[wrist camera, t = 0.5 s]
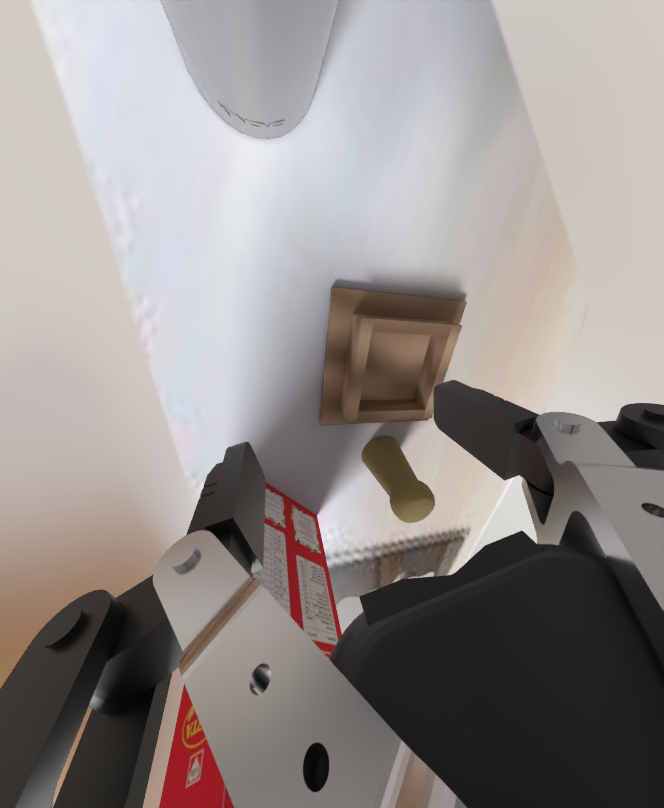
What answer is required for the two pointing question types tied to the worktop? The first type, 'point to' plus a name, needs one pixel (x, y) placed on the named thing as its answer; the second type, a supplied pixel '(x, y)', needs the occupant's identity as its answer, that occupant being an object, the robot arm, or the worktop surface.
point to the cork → (398, 480)
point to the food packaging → (305, 603)
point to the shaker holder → (386, 355)
